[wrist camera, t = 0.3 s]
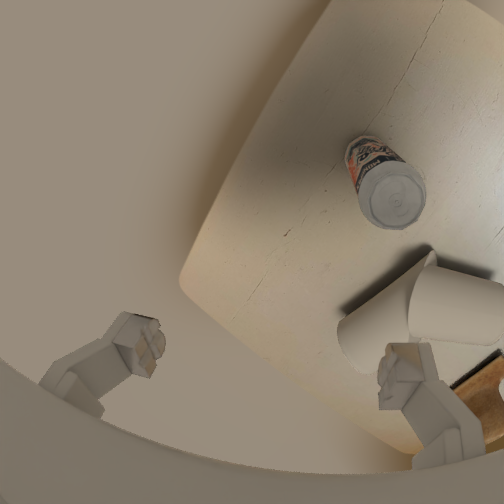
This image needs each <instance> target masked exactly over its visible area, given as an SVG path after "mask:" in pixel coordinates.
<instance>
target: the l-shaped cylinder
mask: <svg viewBox="0 0 504 504" xmlns="http://www.w3.org/2000/svg"><path fill="white" fill-rule="evenodd" d="M503 334H504V286H503V285H502V284H500V283H497V282H493V281H490V280H486V279H483V278H479V277H475V276H472V275H468V274H464V273H461V272H457V271H453V270H449V269H445V268H442V267H438V266H437V256H436V253H435V251H434V250H432V251H431V252H430V253H428V254H427V255H426V256H425V257H424V258H423V259H421V260H420V261H419V262H418V263H417V264H415V265H414V266H413V267H412V268H410V269H409V270H408V271H407V272H406V273H404V274H403V275H402V276H400V277H399V278H398V279H397V280H395V281H394V282H393V283H392V284H390V285H389V286H388V287H386V288H385V289H384V290H382V291H381V292H380V293H378V294H377V295H376V296H374V297H373V298H372V299H370V300H369V301H368V302H366V303H365V304H363V305H362V306H361V307H359V308H358V309H356V310H355V311H354V312H352V313H351V314H349V315H348V316H346V317H345V318H343V319H342V320H341V321H340V322H339V324H338V327H337V336H338V341H339V344H340V347H341V349H342V352H343V354H344V355H345V357H346V359H347V360H348V362H349V363H350V364H351V365H352V367H353V368H354V369H355V370H357V371H358V372H359V373H361V374H363V375H372V374H373V373H375V372H377V371H378V367H379V363H380V360H381V358H382V357H384V356H385V348H386V346H387V344H388V343H419V342H420V340H421V338H424V339H431V340H439V341H447V342H455V343H463V344H472V345H482V346H490V345H492V344H494V343H496V342H497V341H498V340H499V339H500V338H501V337H502V335H503Z"/></svg>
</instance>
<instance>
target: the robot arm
mask: <svg viewBox="0 0 504 504" xmlns="http://www.w3.org/2000/svg"><path fill="white" fill-rule="evenodd" d="M160 326H161V325H160V323H159V321H158V319H155V318H151V317H146V316H142V315H138V314H133V313H129V312H125V311H124V312H122V313H120V314H119V316H118V317H117V318H116V320H115V321H114V322H113V324H112V325H111V326H110V328H109V329H108V330H107V332H106V333H105V334H104V336H103V337H102V339H96V340H95V341H93V342H91V343H89V344H87V345H85V346H83V347H81V348H79V349H78V350H76V351H74V352H72V353H70V354H68V355H66V356H64V357H62V358H61V359H59V360H57V361H55V362H54V363H53V364H52V365H51V367H50V368H49V369H48V371H47V372H46V374H45V375H44V376H43V378H42V379H41V381H40V382H39V384H36V383H35V382H33V381H32V380H30V379H29V378H27V377H26V376H24V375H23V374H21V373H20V372H19V371H17V370H16V369H14V368H13V367H12V366H10V365H9V364H8V363H6V362H5V361H4V360H2V359H1V358H0V504H504V449H501V450H498V451H495V452H492V453H489V454H486V451H485V444H484V437H483V431H482V426H481V421H480V420H479V419H478V418H477V417H476V416H475V415H474V413H473V412H472V411H471V410H470V409H469V408H468V407H467V406H466V405H465V404H464V402H463V401H462V400H461V399H460V398H459V397H458V396H457V395H456V394H455V393H454V392H453V391H452V390H451V388H450V387H449V386H448V385H447V384H446V383H445V382H444V381H443V380H439V377H438V373H437V368H436V364H435V360H434V356H433V353H432V349H431V345H430V344H429V343H388V344H387V346H386V348H385V356H384V357H382V358H381V360H380V363H379V367H378V375H377V378H378V384H379V385H380V386H381V390H380V392H379V394H378V395H379V410H401V411H402V413H403V414H404V416H405V417H406V419H407V420H408V422H409V424H410V425H411V427H412V428H413V430H414V431H415V433H416V434H417V436H418V438H419V439H420V441H421V442H422V444H423V446H424V448H423V449H422V450H421V451H420V452H418V453H417V454H416V455H415V456H414V457H413V458H412V470H408V471H400V472H390V473H375V474H315V473H300V472H289V471H280V470H272V469H264V468H258V467H252V466H246V465H241V464H236V463H230V462H226V461H221V460H217V459H213V458H208V457H205V456H201V455H197V454H193V453H190V452H186V451H182V450H179V449H176V448H173V447H169V446H167V445H164V444H161V443H158V442H155V441H152V440H149V439H146V438H144V437H141V436H139V435H136V434H133V433H131V432H129V431H126V430H124V429H121V428H119V427H117V426H114V425H112V424H110V423H108V422H105V421H103V420H101V419H100V418H101V416H102V415H103V413H104V411H105V409H104V407H103V405H102V404H101V403H100V402H99V401H98V399H99V398H101V397H102V396H103V395H105V394H106V393H108V392H109V391H110V390H112V389H113V388H114V387H116V386H117V385H118V384H120V383H121V382H122V381H124V380H125V379H126V378H128V377H129V376H131V374H135V375H139V376H142V377H146V378H150V377H151V375H152V373H153V372H154V370H155V368H156V366H157V365H156V360H157V359H159V358H160V357H162V354H163V352H164V350H165V345H166V340H165V336H164V334H163V333H162V332H161V331H160V330H159V328H160Z"/></svg>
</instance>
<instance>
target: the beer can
mask: <svg viewBox="0 0 504 504" xmlns="http://www.w3.org/2000/svg"><path fill="white" fill-rule="evenodd" d="M345 164H346V167H347V169H348V171H349V174H350V176H351V179H352V182H353V185H354V187H355V190H356V193H357V196H358V199H359V204H360V208H361V210H362V212H363V214H364V216H365V217H366V218H367V219H368V220H369V221H370V222H371V223H372V224H374V225H375V226H377V227H380V228H383V229H391V230H403V229H404V228H406V227H408V226H409V225H411V224H413V223H414V222H416V221H417V220H418V218H419V216H420V214H421V212H422V210H423V208H424V206H425V202H426V187H425V184H424V181H423V178H422V177H421V175H420V174H419V172H418V171H417V170H416V169H415V168H413V167H412V166H410V165H409V164H407V163H406V162H405V161H404V160H403V159H402V158H400V157H399V156H398V155H397V154H396V153H395V152H393V151H392V150H391V149H390V148H389V147H388V146H387V145H386V144H385V143H384V142H383V141H382V140H380V139H379V138H377V137H374V136H368V135H367V136H360V137H358V138H356V139H354V140H353V141H352V142H351V143H350V144H349V145H348V147H347V149H346V152H345Z"/></svg>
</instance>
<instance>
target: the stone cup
mask: <svg viewBox="0 0 504 504" xmlns="http://www.w3.org/2000/svg"><path fill="white" fill-rule="evenodd" d="M503 378H504V357H503V355H500V356H499V357H497V358H496V359H495V360H493V361H492V362H491V363H489V364H488V365H487V366H485V367H484V368H482V369H481V370H480V371H478V372H477V373H476V374H474V375H473V376H472V377H470V378H469V379H467V380H466V381H465V382H463V383H462V384H460V385H459V386H458V387H457V388H455V389H454V390H452V391H453V392H454V393H455V394H456V395H457V396H458V397H459V398H460V399H461V400H462V401H463V402H464V404H465V405H466V406H467V407H468V408H469V409H470V410H471V411H472V412H473V413H474V415H475V416H476V417H477V418H478V419H479V420H480V421H481V426H482V431H483V437H484V444H485V445H486V444H488V443H490V442H492V441H494V440H496V439H498V438H500V437H502V436H503V435H504V401H503V399H502V397H501V395H500V393H499V384H500V382H501V380H502V379H503Z"/></svg>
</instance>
